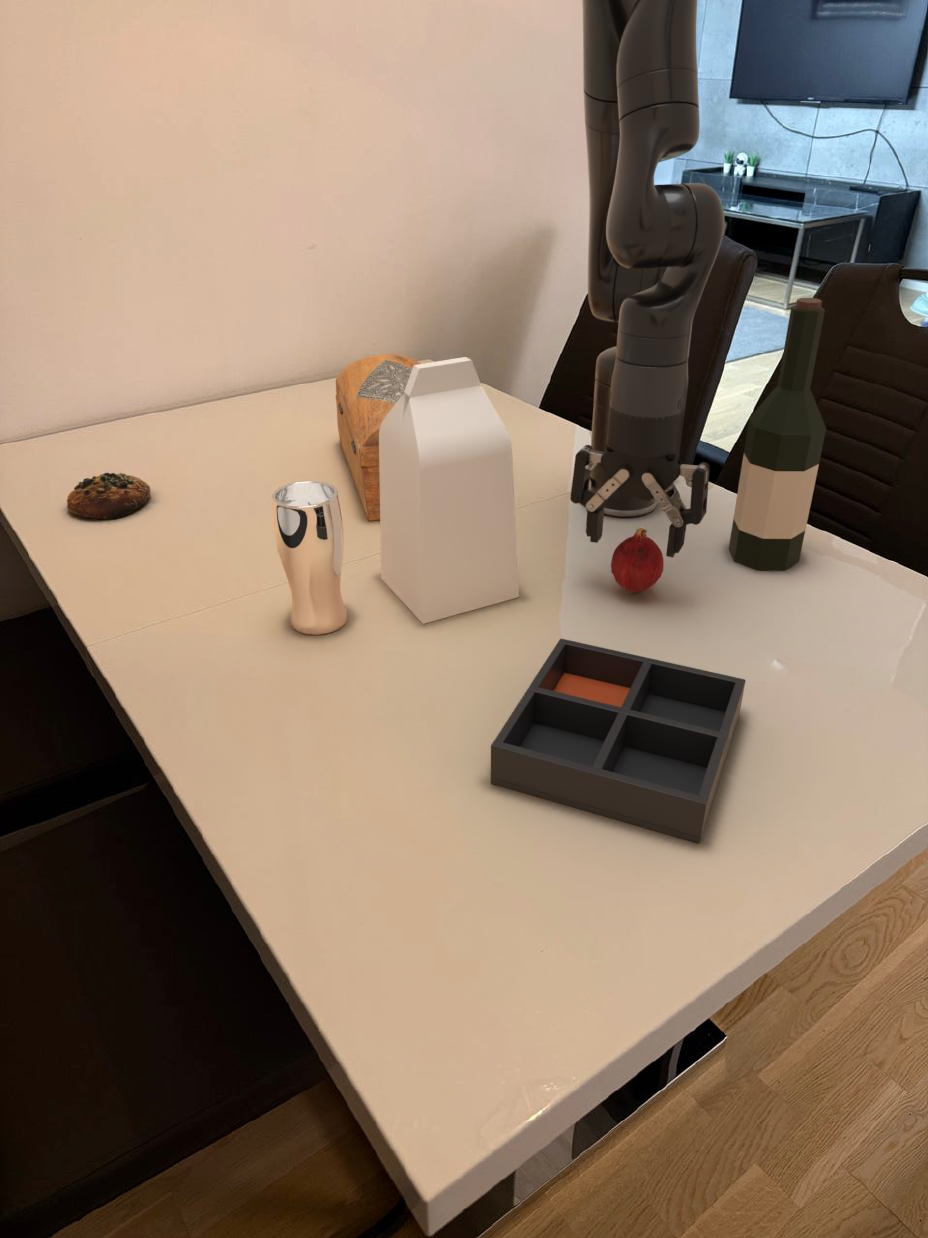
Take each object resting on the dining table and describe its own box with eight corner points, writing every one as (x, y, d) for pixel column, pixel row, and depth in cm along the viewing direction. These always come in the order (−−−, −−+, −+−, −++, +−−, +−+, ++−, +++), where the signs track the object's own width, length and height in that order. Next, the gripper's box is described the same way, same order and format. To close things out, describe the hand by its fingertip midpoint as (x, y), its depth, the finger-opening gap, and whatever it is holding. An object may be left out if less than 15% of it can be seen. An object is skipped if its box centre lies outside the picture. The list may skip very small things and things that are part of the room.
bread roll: (98, 527, 120) (88, 490, 118) (53, 516, 126) (43, 481, 124) (169, 501, 127) (160, 466, 125) (123, 493, 134) (115, 459, 132)
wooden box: (483, 510, 123) (483, 410, 116) (361, 522, 120) (353, 421, 113) (440, 433, 148) (438, 347, 141) (338, 442, 145) (331, 355, 138)
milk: (423, 623, 99) (412, 387, 85) (381, 578, 108) (365, 357, 94) (518, 596, 104) (523, 368, 90) (471, 555, 112) (469, 341, 99)
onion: (659, 608, 101) (667, 543, 97) (607, 603, 102) (612, 539, 98) (660, 583, 106) (668, 520, 102) (610, 578, 107) (615, 516, 103)
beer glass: (289, 605, 103) (273, 481, 95) (352, 602, 103) (340, 478, 95) (284, 639, 97) (266, 509, 89) (350, 635, 97) (338, 506, 89)
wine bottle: (803, 547, 113) (855, 295, 97) (794, 577, 107) (847, 312, 91) (735, 534, 116) (774, 288, 100) (721, 563, 110) (761, 305, 94)
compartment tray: (558, 672, 91) (560, 637, 89) (739, 715, 85) (745, 679, 82) (490, 783, 77) (490, 745, 75) (699, 843, 71) (706, 804, 69)
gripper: (726, 400, 93) (705, 545, 101) (591, 383, 98) (582, 522, 106) (710, 423, 87) (689, 574, 95) (567, 403, 92) (560, 548, 100)
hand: (633, 546), depth 101 cm, fingers open, 8 cm apart
